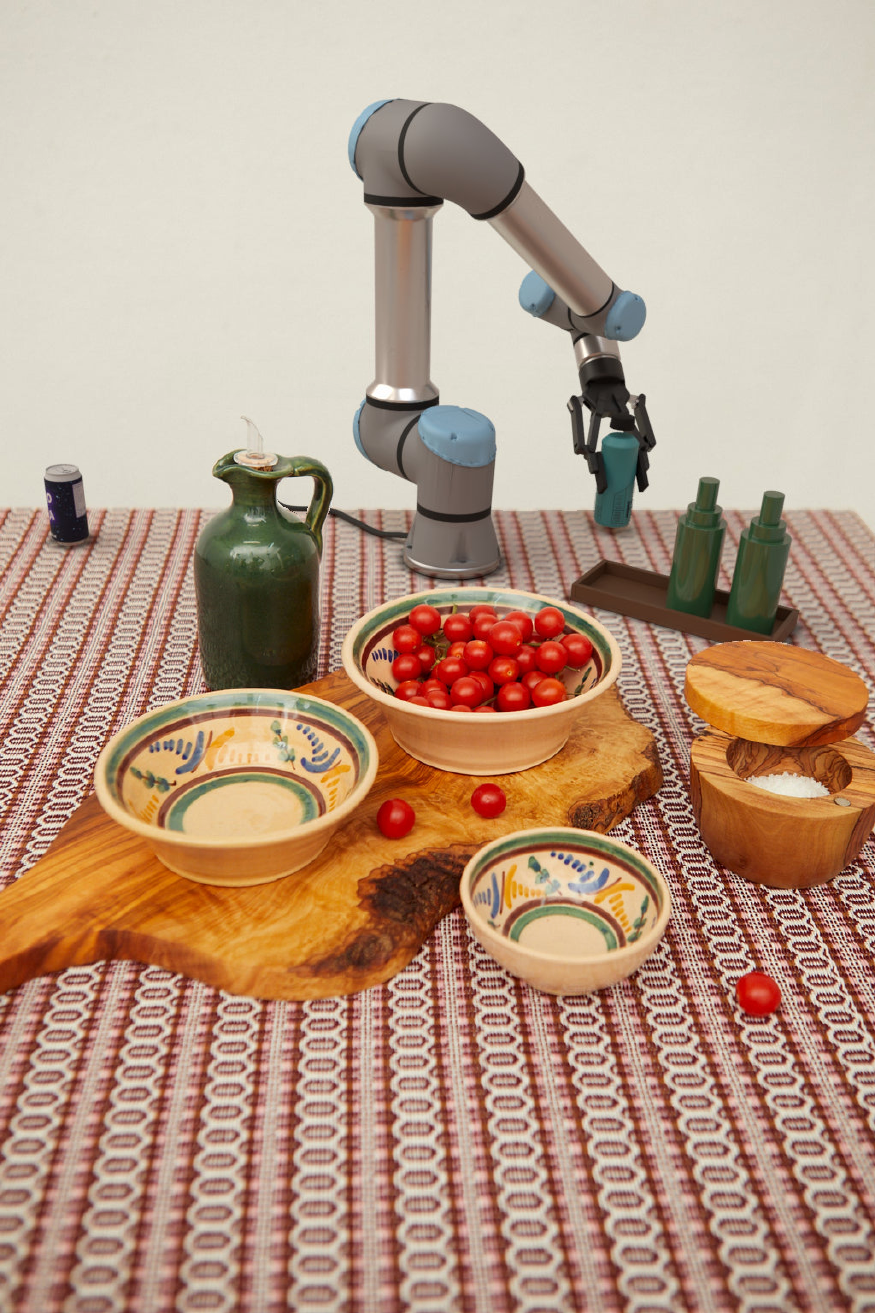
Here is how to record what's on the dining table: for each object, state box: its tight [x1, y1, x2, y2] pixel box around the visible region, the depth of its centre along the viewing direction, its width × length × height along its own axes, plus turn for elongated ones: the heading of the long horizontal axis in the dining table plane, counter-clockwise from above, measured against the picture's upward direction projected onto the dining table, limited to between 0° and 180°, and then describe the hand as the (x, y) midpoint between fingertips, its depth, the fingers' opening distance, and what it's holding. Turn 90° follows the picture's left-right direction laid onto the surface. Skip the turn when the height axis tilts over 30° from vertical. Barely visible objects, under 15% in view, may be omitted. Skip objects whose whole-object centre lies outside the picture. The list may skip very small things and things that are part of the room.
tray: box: [569, 558, 800, 644], centre depth 160 cm, size 31×12×3 cm, turn 58°
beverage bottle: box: [593, 413, 639, 529], centre depth 184 cm, size 6×7×20 cm
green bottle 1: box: [665, 476, 729, 619], centre depth 155 cm, size 7×7×20 cm
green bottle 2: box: [724, 490, 793, 636], centre depth 151 cm, size 7×7×20 cm
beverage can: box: [43, 463, 90, 547], centre depth 172 cm, size 6×6×12 cm
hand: (623, 489), depth 181 cm, fingers closed on beverage bottle, 6 cm apart
